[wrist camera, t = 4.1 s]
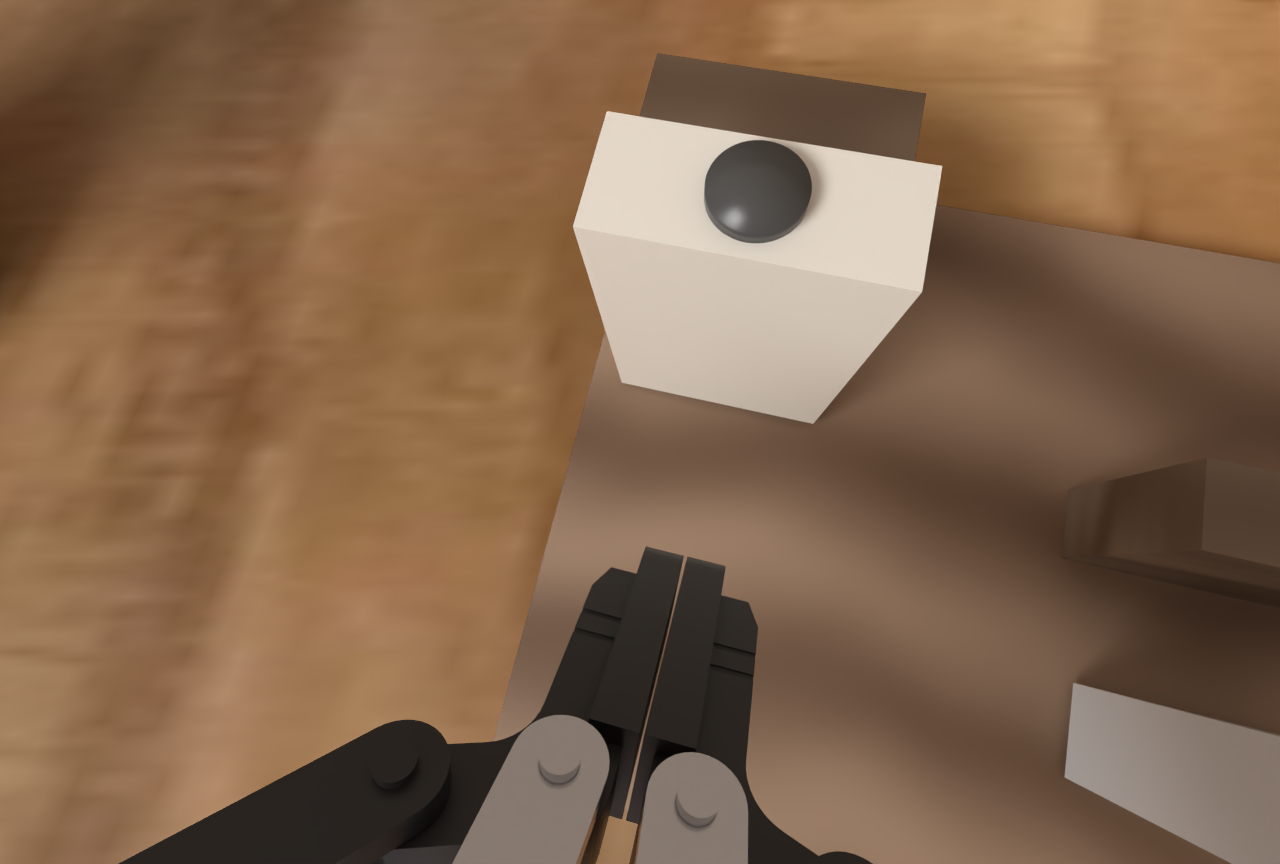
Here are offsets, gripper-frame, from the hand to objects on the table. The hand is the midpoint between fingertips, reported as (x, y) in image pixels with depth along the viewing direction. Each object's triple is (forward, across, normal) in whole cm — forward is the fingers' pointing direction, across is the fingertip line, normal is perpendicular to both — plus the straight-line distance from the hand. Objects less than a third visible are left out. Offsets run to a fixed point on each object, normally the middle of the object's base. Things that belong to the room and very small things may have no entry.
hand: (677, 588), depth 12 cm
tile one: (+10, 0, 0) cm, 10 cm away
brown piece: (+8, -7, +4) cm, 11 cm away
